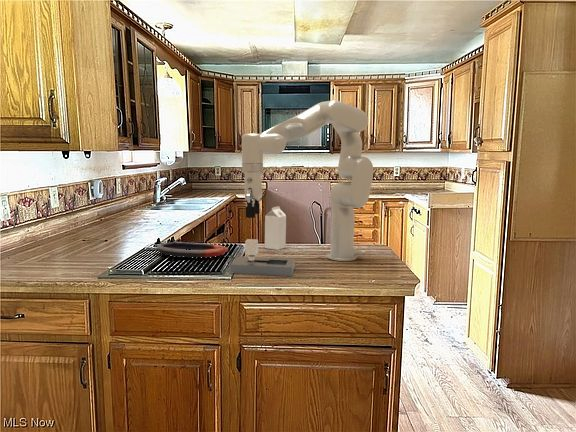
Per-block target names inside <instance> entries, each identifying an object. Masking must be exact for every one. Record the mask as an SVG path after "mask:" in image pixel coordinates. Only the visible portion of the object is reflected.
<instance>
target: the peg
mask: <svg viewBox="0 0 576 432" xmlns="http://www.w3.org/2000/svg"><path fill="white" fill-rule="evenodd" d="M244 244H245V246H244V248H245V249H244V251H245V252H244V254H245V256H246V255H247V257H248V262H255V257H256V255H258V254H259V239H256V238H255V239H254V238H253V239H252V238H250V239H249V238H247V239H246V240H245V241H244Z"/></svg>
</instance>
